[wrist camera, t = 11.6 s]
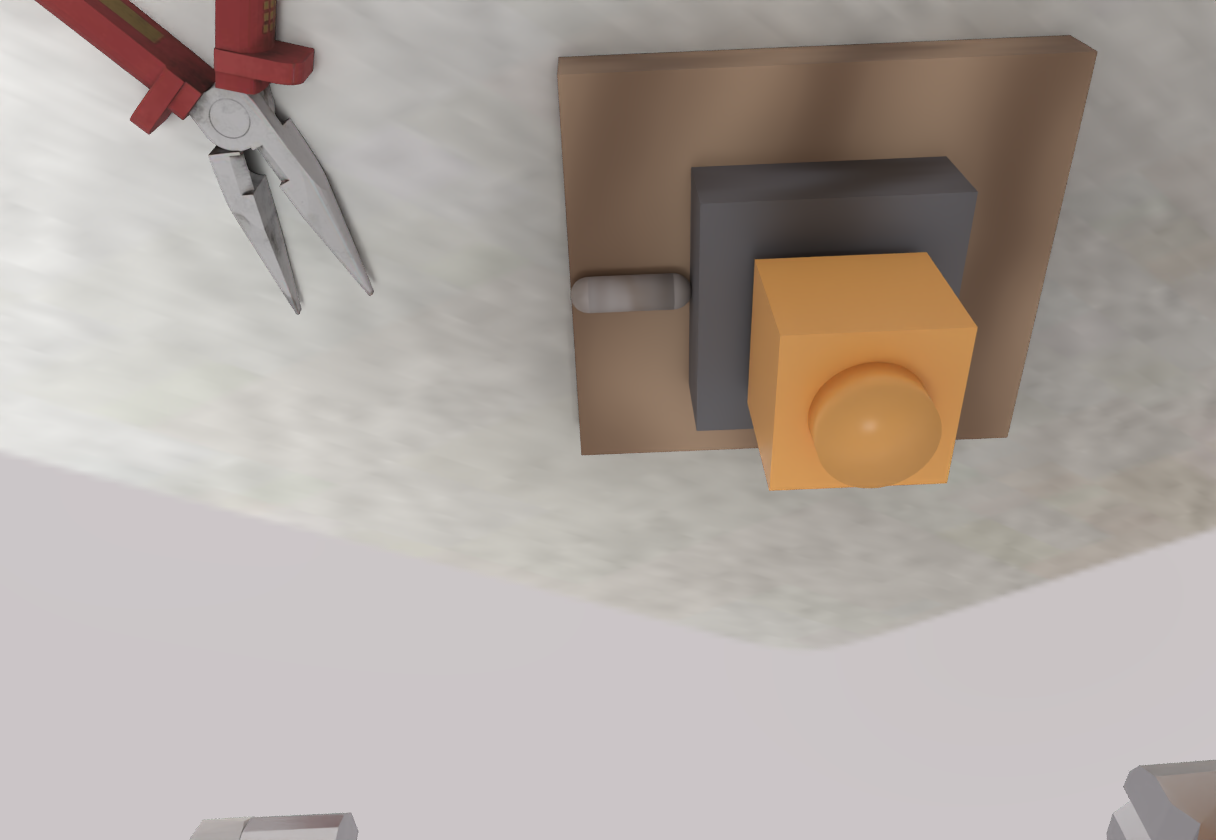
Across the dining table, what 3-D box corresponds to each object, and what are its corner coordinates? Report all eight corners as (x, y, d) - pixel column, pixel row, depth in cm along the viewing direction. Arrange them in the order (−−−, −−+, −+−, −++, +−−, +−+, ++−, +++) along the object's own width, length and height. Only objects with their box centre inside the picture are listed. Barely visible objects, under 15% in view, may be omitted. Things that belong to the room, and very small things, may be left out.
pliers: (200, 329, 37) (177, 365, 35) (-195, -319, 26) (-265, -325, 24) (491, 243, 35) (486, 276, 33) (201, -487, 24) (164, -510, 22)
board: (1069, 35, 31) (1234, 133, 23) (989, 408, 39) (1092, 575, 31) (558, 57, 31) (550, 162, 23) (581, 425, 39) (581, 597, 31)
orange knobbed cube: (926, 251, 29) (993, 351, 24) (903, 396, 32) (960, 510, 27) (754, 259, 29) (788, 359, 24) (747, 403, 32) (776, 517, 27)
